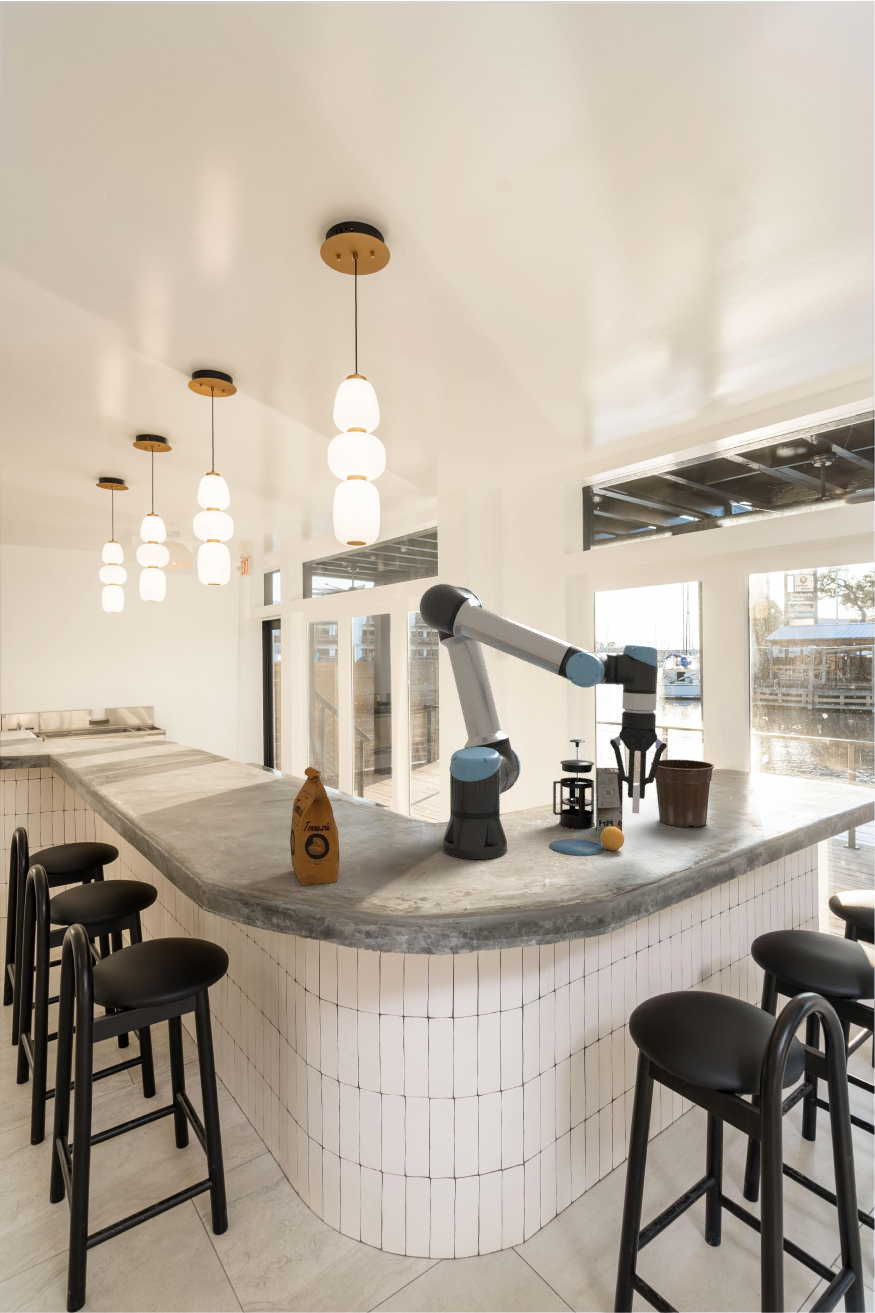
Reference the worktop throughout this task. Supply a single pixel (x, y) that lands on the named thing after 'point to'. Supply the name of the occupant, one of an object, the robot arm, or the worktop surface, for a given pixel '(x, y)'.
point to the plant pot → (683, 792)
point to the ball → (612, 838)
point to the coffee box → (608, 799)
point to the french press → (575, 794)
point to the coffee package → (314, 834)
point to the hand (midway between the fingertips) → (635, 811)
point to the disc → (577, 847)
